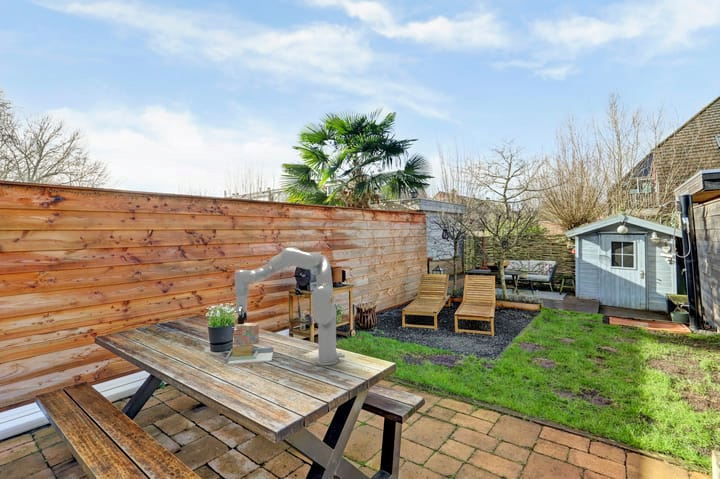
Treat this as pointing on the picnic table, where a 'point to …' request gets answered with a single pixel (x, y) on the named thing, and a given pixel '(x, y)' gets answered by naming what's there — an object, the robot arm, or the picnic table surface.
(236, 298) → the robot arm
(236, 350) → the ochre block
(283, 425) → the picnic table surface
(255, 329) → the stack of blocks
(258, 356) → the arena
